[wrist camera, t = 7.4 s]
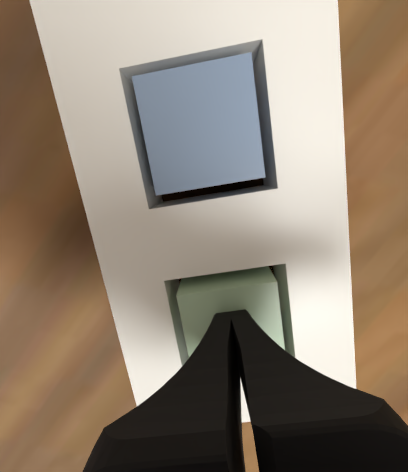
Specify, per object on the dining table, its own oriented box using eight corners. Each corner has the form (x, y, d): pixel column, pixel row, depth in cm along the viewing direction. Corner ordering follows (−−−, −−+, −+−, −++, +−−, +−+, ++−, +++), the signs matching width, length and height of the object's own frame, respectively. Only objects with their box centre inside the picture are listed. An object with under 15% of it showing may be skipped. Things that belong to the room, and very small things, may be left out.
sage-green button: (197, 338, 14) (193, 380, 12) (184, 269, 14) (176, 295, 11) (272, 329, 14) (287, 369, 11) (263, 257, 13) (277, 281, 10)
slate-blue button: (169, 190, 13) (155, 195, 10) (151, 100, 12) (131, 76, 9) (253, 176, 12) (265, 177, 10) (242, 82, 12) (251, 52, 9)
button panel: (156, 384, 16) (143, 432, 13) (18, -193, 10) (-61, -340, 7) (329, 365, 15) (357, 410, 12) (284, -270, 9) (315, -467, 7)
